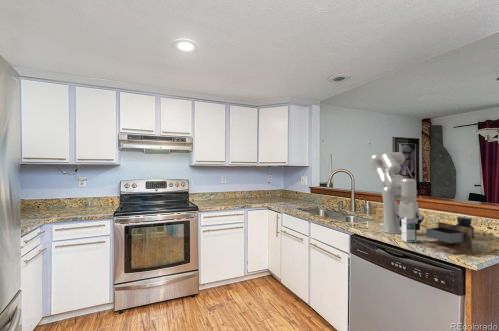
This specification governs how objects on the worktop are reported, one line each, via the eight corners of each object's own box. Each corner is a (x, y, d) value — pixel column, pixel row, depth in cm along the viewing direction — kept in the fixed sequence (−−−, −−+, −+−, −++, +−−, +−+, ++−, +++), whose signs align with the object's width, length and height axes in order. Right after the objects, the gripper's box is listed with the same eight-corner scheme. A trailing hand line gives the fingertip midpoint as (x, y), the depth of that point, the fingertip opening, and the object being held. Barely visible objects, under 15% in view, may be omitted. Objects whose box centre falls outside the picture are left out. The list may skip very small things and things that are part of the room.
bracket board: (421, 244, 134) (421, 223, 134) (440, 242, 138) (439, 222, 139) (452, 254, 119) (452, 230, 119) (472, 251, 123) (472, 228, 123)
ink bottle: (470, 235, 154) (470, 217, 154) (477, 239, 146) (477, 219, 146) (452, 233, 158) (451, 215, 158) (457, 237, 150) (457, 218, 150)
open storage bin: (426, 236, 133) (426, 228, 133) (441, 234, 136) (441, 227, 136) (450, 243, 121) (450, 234, 121) (466, 241, 125) (466, 232, 125)
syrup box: (406, 242, 138) (406, 217, 138) (401, 239, 144) (401, 215, 144) (416, 243, 137) (416, 218, 137) (411, 240, 143) (411, 216, 143)
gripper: (391, 198, 148) (391, 225, 147) (418, 201, 131) (419, 232, 131) (400, 197, 150) (401, 224, 149) (428, 200, 134) (428, 231, 133)
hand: (409, 228), depth 140 cm, fingers open, 9 cm apart
